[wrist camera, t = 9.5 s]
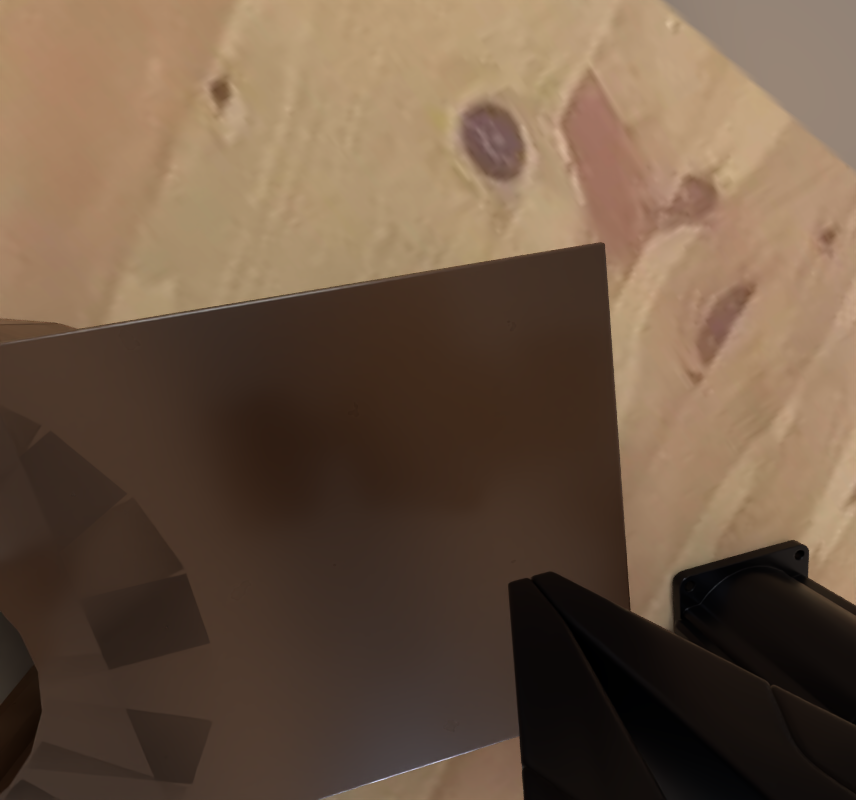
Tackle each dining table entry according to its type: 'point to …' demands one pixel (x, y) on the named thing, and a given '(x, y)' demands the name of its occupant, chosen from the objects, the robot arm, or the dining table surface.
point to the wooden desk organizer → (297, 527)
